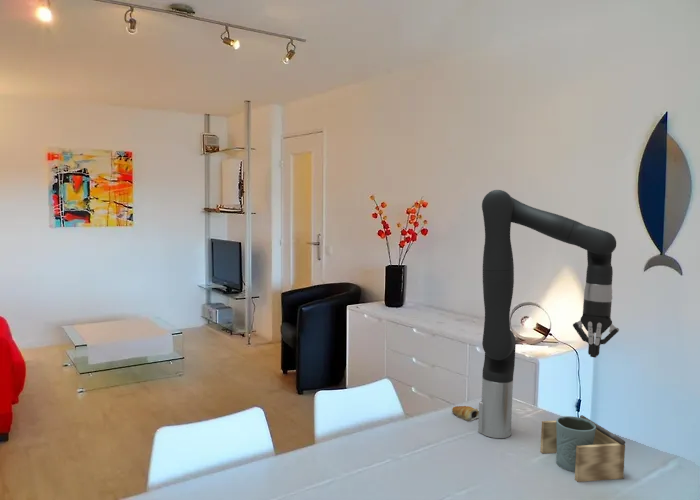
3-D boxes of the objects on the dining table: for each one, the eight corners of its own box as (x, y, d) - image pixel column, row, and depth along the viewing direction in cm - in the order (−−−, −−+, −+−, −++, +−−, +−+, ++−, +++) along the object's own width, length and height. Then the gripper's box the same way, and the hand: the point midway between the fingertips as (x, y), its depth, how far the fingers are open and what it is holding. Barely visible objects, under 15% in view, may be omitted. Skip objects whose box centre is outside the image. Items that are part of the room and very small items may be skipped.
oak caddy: (577, 481, 145) (579, 443, 144) (540, 451, 163) (541, 417, 162) (623, 478, 147) (625, 440, 147) (581, 449, 165) (583, 415, 165)
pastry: (447, 414, 192) (447, 403, 192) (460, 410, 197) (460, 399, 196) (468, 422, 185) (469, 411, 185) (482, 418, 189) (482, 407, 189)
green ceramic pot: (566, 454, 162) (568, 413, 161) (601, 467, 154) (603, 424, 153) (546, 463, 155) (548, 421, 154) (581, 477, 147) (583, 433, 146)
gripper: (571, 297, 166) (567, 355, 168) (620, 303, 159) (616, 363, 161) (576, 294, 173) (572, 350, 174) (624, 300, 166) (619, 358, 167)
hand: (593, 356), depth 167 cm, fingers closed
